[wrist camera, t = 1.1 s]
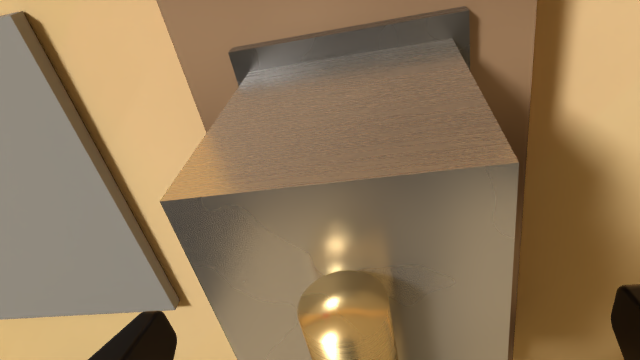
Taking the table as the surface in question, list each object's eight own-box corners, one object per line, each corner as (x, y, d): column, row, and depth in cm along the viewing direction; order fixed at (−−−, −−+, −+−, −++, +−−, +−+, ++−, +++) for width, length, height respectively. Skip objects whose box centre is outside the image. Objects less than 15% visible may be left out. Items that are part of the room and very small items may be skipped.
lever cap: (460, 298, 13) (515, 555, 8) (318, 305, 14) (286, 542, 9) (452, 38, 9) (556, 232, 4) (249, 71, 10) (115, 266, 5)
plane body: (498, 333, 18) (514, 389, 16) (307, 340, 19) (300, 392, 17) (521, -285, 8) (569, -342, 6) (136, -170, 10) (74, -186, 8)
